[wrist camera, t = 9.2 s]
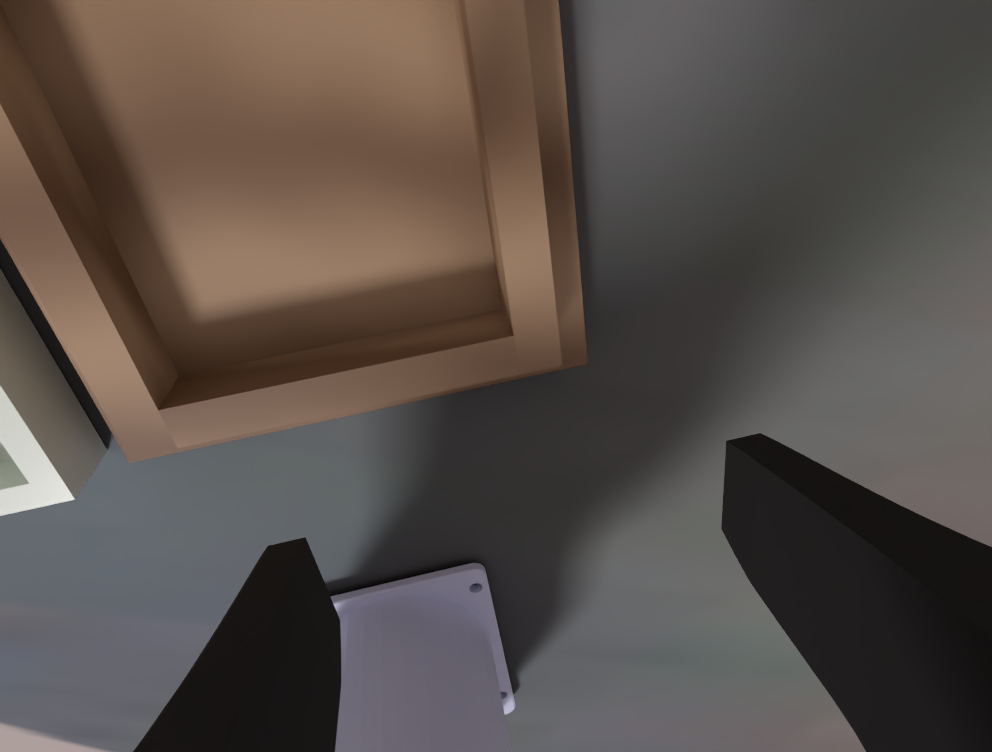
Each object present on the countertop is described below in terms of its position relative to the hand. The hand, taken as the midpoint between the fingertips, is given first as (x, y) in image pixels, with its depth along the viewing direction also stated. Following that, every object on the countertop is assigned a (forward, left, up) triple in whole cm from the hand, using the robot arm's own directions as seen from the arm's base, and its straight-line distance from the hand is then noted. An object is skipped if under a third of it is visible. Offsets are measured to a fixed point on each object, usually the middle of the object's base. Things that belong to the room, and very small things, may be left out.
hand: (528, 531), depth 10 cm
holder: (+5, +4, -9) cm, 11 cm away
